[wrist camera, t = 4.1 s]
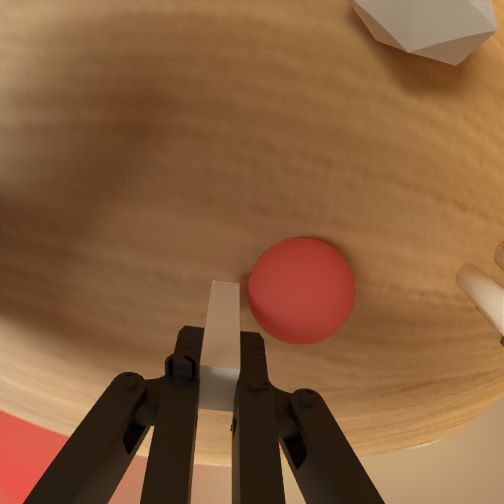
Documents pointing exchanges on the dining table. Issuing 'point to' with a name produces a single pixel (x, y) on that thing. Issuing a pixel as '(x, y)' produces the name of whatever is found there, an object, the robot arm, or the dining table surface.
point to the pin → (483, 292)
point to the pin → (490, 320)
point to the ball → (301, 291)
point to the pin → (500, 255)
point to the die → (429, 25)
